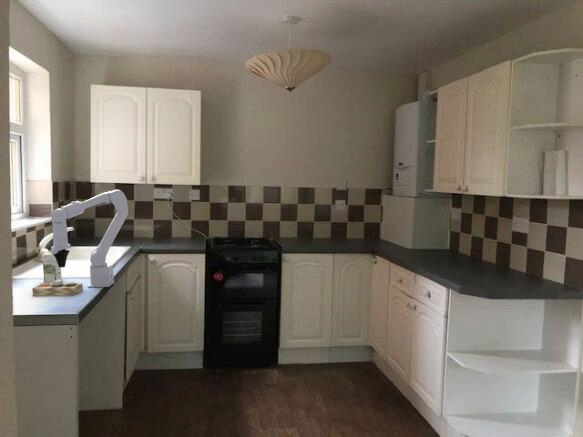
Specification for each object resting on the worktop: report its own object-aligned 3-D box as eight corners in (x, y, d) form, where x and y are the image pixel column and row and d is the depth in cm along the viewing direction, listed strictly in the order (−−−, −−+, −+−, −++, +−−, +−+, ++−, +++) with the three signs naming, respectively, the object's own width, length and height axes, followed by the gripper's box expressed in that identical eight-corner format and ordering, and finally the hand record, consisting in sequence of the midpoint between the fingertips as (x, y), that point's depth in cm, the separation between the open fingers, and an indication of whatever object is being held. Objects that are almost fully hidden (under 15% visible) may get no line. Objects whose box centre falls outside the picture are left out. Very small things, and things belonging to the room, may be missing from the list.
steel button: (64, 285, 209) (64, 279, 209) (60, 287, 205) (60, 281, 205) (55, 285, 209) (55, 279, 208) (51, 287, 205) (50, 282, 204)
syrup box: (62, 282, 225) (60, 251, 223) (56, 285, 219) (54, 253, 217) (49, 282, 225) (47, 251, 223) (43, 285, 219) (41, 253, 217)
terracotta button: (52, 288, 209) (51, 282, 209) (47, 290, 205) (47, 285, 205) (42, 288, 209) (42, 282, 208) (37, 290, 205) (37, 285, 204)
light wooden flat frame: (82, 289, 212) (82, 282, 211) (74, 295, 203) (73, 288, 202) (43, 289, 211) (42, 283, 211) (32, 295, 202) (32, 288, 202)
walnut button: (77, 288, 209) (77, 282, 209) (74, 290, 205) (73, 284, 205) (68, 288, 209) (68, 282, 209) (64, 290, 205) (64, 285, 205)
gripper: (58, 234, 218) (60, 263, 220) (42, 239, 204) (44, 270, 206) (74, 233, 219) (75, 263, 220) (59, 238, 204) (61, 270, 206)
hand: (62, 267), depth 213 cm, fingers closed
